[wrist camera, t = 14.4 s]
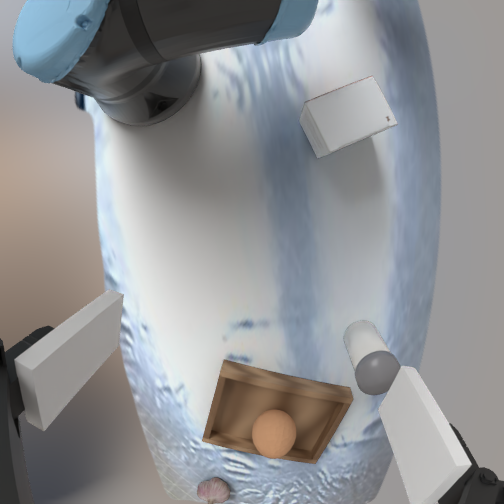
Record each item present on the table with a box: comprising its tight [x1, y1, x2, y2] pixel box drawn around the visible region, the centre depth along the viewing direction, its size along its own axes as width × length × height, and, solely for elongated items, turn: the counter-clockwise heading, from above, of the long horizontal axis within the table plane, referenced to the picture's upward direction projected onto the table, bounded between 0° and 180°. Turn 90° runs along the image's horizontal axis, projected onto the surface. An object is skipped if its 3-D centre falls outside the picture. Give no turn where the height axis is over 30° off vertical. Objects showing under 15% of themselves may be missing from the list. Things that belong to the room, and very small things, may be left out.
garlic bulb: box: [197, 477, 230, 504], centre depth 50 cm, size 8×7×8 cm
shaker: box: [344, 320, 401, 395], centre depth 38 cm, size 5×5×11 cm
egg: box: [252, 410, 296, 459], centre depth 42 cm, size 7×7×9 cm
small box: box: [299, 76, 398, 159], centre depth 33 cm, size 8×6×10 cm
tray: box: [202, 360, 353, 464], centre depth 46 cm, size 20×16×3 cm
